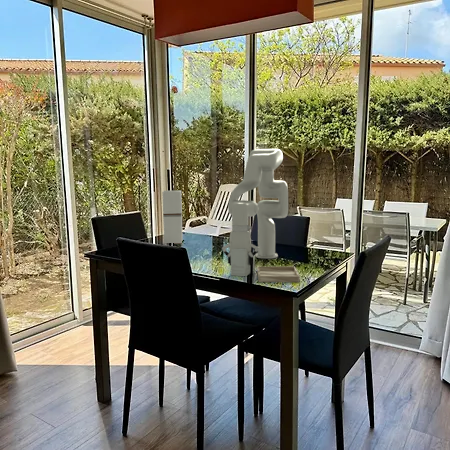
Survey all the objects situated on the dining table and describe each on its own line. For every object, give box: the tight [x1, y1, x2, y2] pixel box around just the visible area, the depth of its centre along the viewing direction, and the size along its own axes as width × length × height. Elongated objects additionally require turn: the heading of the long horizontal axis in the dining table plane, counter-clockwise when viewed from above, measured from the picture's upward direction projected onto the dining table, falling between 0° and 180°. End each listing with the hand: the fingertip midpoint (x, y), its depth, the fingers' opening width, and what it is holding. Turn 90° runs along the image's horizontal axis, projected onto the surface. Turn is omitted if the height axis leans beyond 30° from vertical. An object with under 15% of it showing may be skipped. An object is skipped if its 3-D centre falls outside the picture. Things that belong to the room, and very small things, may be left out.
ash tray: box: [256, 266, 301, 283], centre depth 191 cm, size 18×18×2 cm
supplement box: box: [230, 249, 251, 277], centre depth 195 cm, size 7×7×13 cm
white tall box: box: [162, 190, 183, 245], centre depth 268 cm, size 11×11×35 cm
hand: (240, 265), depth 195 cm, fingers closed on supplement box, 9 cm apart
